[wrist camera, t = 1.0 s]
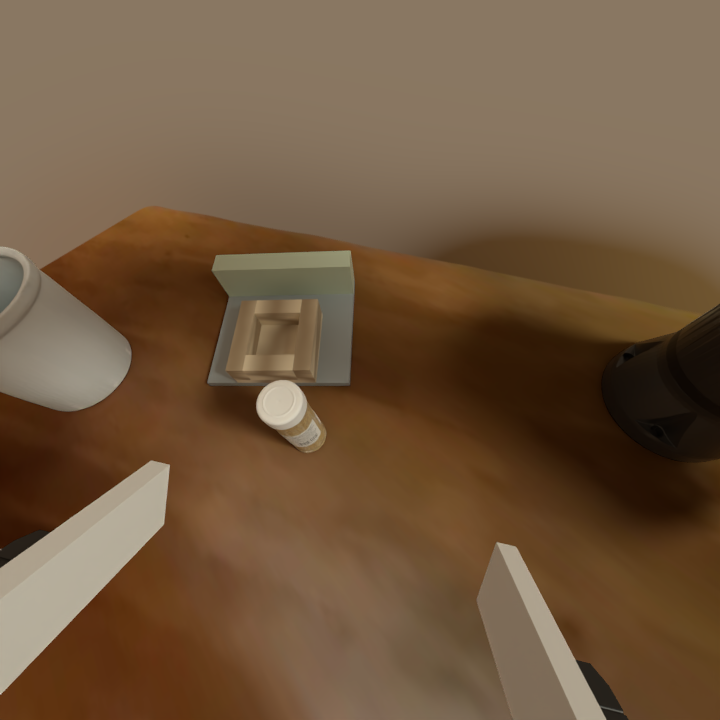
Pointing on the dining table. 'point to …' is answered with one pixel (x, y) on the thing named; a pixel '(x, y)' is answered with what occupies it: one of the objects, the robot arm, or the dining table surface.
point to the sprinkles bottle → (291, 415)
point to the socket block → (276, 341)
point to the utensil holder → (54, 341)
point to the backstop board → (290, 282)
